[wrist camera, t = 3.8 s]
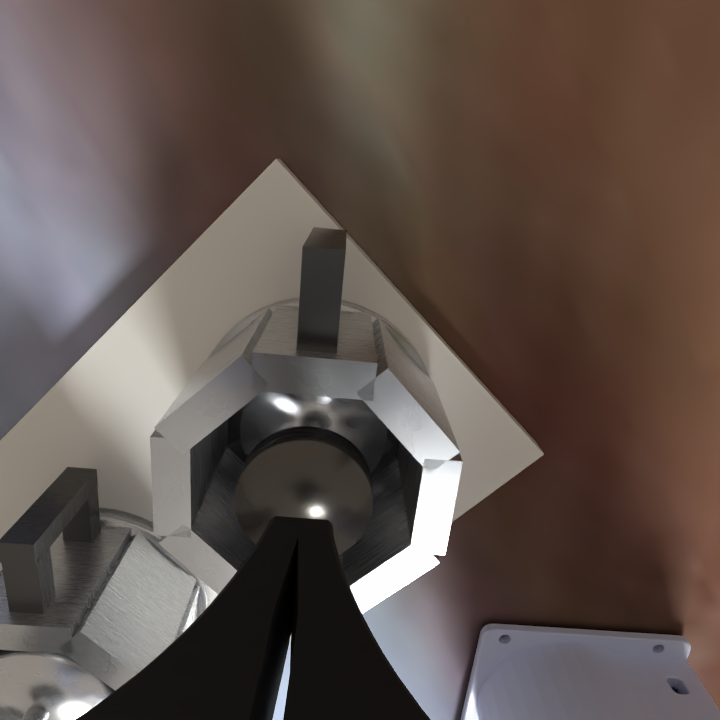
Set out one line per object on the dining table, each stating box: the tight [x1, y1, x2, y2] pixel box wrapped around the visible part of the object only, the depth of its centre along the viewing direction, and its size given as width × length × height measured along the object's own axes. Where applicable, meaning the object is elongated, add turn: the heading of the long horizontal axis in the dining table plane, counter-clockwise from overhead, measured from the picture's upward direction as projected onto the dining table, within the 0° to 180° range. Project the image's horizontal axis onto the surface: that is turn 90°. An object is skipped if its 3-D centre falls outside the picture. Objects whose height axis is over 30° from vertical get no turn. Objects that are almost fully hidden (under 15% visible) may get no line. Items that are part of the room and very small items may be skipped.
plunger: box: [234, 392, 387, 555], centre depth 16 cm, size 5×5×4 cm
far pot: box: [0, 467, 210, 690], centre depth 19 cm, size 8×11×5 cm
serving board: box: [0, 159, 544, 642], centre depth 21 cm, size 22×14×1 cm, turn 132°
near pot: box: [150, 227, 463, 613], centre depth 16 cm, size 8×11×5 cm
